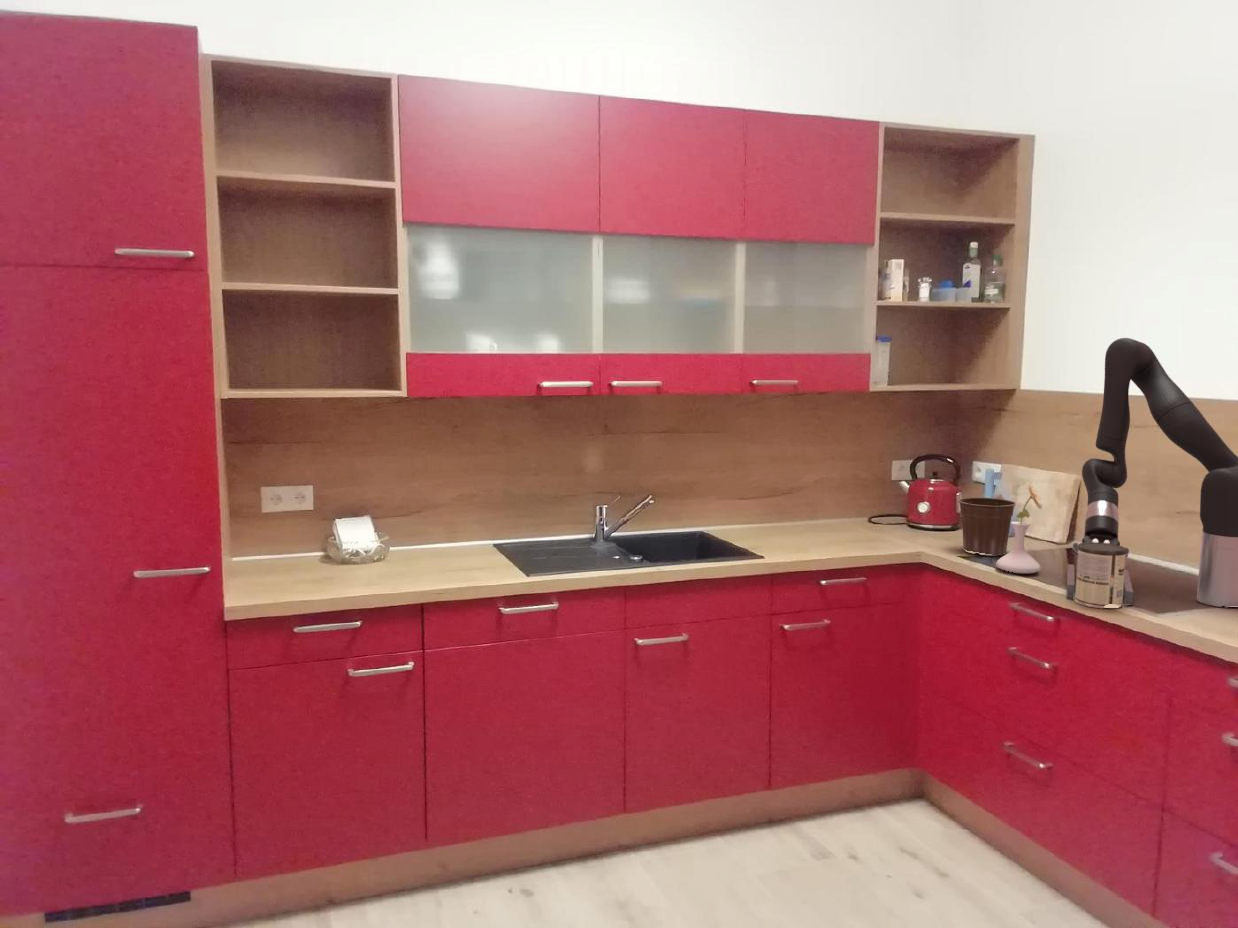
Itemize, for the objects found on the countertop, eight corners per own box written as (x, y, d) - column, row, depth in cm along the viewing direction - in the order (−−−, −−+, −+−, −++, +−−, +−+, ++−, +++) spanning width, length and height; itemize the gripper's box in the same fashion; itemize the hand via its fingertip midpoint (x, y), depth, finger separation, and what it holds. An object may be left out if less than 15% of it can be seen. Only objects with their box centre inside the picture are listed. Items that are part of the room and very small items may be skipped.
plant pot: (975, 559, 257) (978, 505, 255) (945, 548, 273) (947, 497, 271) (1024, 557, 260) (1027, 504, 258) (991, 546, 276) (994, 496, 274)
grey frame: (1126, 582, 230) (1127, 570, 230) (1132, 606, 207) (1133, 592, 207) (1067, 576, 237) (1068, 564, 236) (1066, 598, 214) (1067, 584, 213)
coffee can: (1074, 595, 216) (1078, 540, 215) (1122, 601, 211) (1126, 544, 210) (1072, 605, 208) (1076, 547, 206) (1122, 611, 202) (1126, 552, 201)
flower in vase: (1026, 578, 234) (1032, 487, 231) (987, 570, 243) (992, 482, 240) (1051, 572, 241) (1057, 483, 238) (1012, 564, 250) (1017, 479, 248)
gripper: (1073, 511, 223) (1069, 567, 214) (1132, 516, 217) (1131, 574, 208) (1072, 528, 229) (1068, 583, 220) (1130, 533, 223) (1128, 590, 213)
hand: (1098, 579), depth 214 cm, fingers closed
